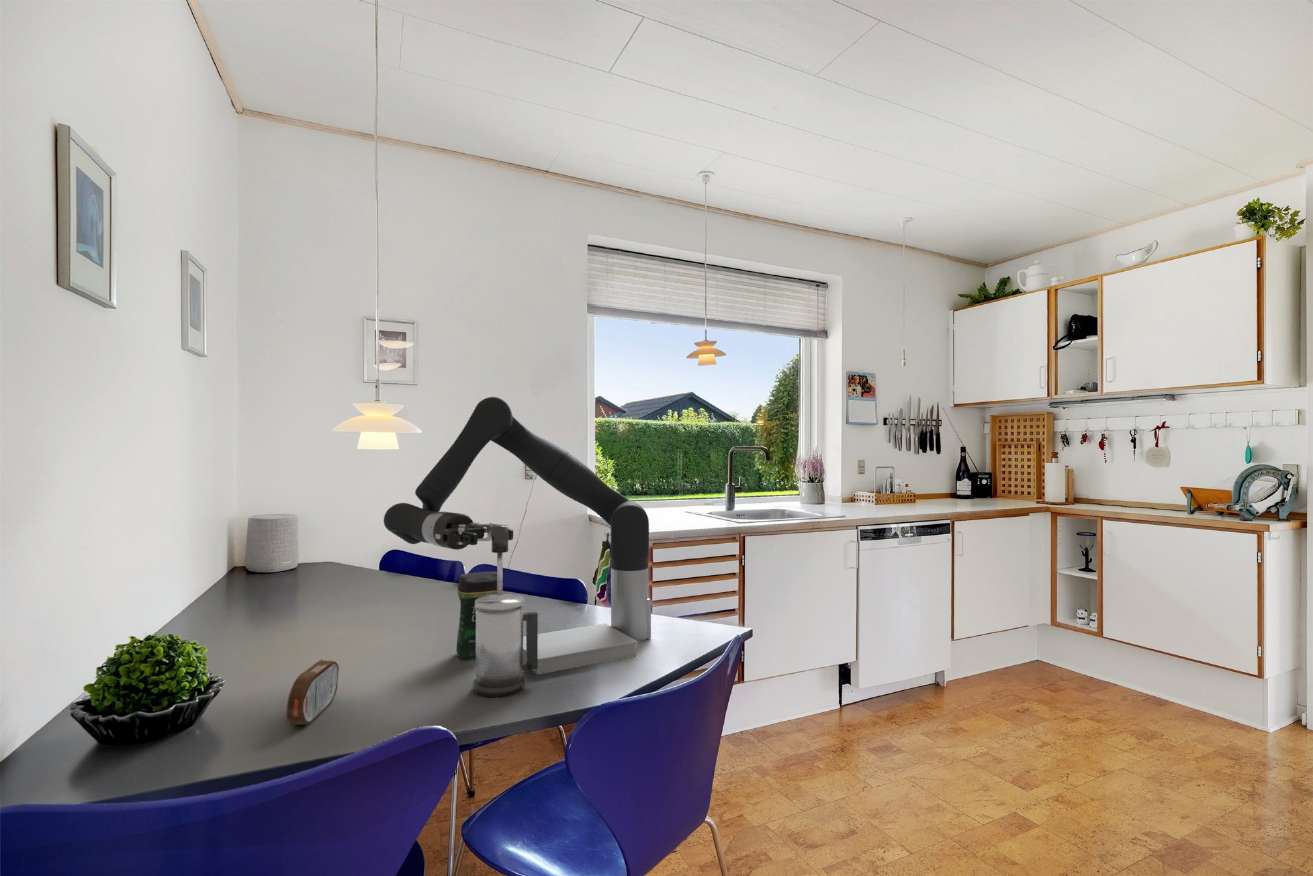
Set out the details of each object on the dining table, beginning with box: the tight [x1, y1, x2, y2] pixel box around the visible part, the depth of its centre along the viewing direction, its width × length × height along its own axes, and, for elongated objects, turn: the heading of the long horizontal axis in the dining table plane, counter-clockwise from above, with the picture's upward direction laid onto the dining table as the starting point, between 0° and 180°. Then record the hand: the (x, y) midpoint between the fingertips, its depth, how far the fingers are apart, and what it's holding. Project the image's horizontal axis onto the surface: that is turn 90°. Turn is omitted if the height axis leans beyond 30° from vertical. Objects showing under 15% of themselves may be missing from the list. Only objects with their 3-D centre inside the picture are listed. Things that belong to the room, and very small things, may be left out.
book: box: [523, 623, 639, 675], centre depth 144 cm, size 18×4×24 cm
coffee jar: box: [456, 571, 497, 660], centre depth 144 cm, size 10×8×19 cm
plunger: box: [491, 524, 509, 596], centre depth 124 cm, size 3×3×14 cm
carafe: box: [473, 593, 539, 699], centre depth 124 cm, size 12×10×17 cm
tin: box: [286, 659, 340, 726], centre depth 112 cm, size 15×3×8 cm, turn 5°
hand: (494, 537), depth 125 cm, fingers open, 8 cm apart
